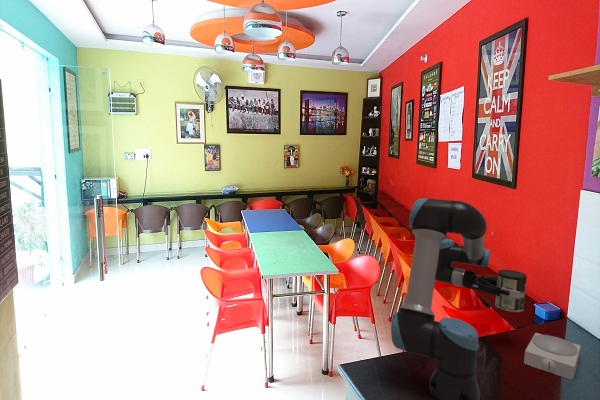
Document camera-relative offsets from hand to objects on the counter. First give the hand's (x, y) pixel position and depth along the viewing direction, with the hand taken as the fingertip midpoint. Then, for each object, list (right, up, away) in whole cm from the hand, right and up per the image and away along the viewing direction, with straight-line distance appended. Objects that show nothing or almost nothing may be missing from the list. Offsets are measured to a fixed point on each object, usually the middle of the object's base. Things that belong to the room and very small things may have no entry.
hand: (522, 291), depth 150 cm
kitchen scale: (+7, -24, -7) cm, 26 cm away
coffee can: (-3, -7, +4) cm, 9 cm away
